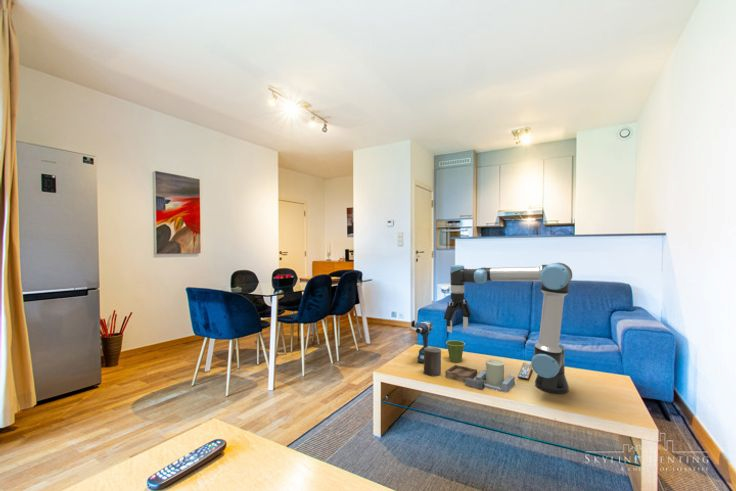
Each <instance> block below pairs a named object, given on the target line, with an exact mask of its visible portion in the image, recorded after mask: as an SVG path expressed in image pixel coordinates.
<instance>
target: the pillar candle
mask: <svg viewBox="0 0 736 491" xmlns="http://www.w3.org/2000/svg"><path fill="white" fill-rule="evenodd" d="M423 374H424V375H426V376H429V377H439V376H440V375H442V349H441V348H439V347H434V346H428V347H426V348H424V363H423Z"/></svg>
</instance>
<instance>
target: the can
mask: <svg viewBox="0 0 736 491" xmlns="http://www.w3.org/2000/svg"><path fill="white" fill-rule="evenodd" d="M485 370H486V381H485V384H489V385H492V386H496V387H501V388H502V382H503V381H504V379H505V362H504V361H502V360H499V359H487V360H486V361H485Z"/></svg>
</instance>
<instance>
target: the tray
mask: <svg viewBox="0 0 736 491" xmlns="http://www.w3.org/2000/svg"><path fill="white" fill-rule="evenodd" d="M477 375H478V369H477V368H471V367H467V366H464V365H459V364H454V365H452V366H451V367H449V368H448V369H446V370H445V378H447V379H450V380H455V381H457V380H458V382H461V381H462V382H463V383H465V379H466V378H467V377H468V378H472V379H475V376H477Z"/></svg>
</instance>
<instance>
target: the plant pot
mask: <svg viewBox="0 0 736 491" xmlns="http://www.w3.org/2000/svg"><path fill="white" fill-rule="evenodd" d="M445 344H446V347H447V352H448V358H449V361H450V362H452V363H461V362H462V359H463V354H464V348H465V345H466V343H465V342H464V341H460V340H453V339H452V340H447V341H446V342H445Z"/></svg>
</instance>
